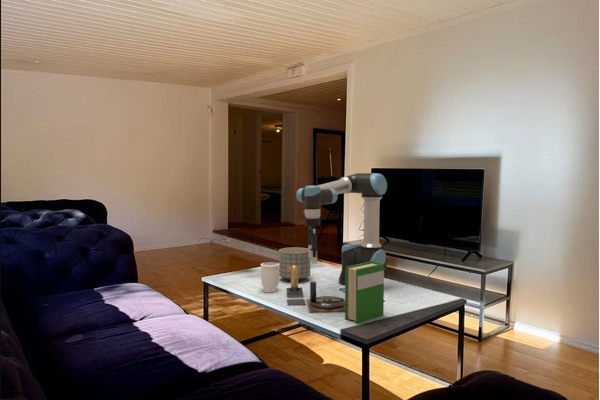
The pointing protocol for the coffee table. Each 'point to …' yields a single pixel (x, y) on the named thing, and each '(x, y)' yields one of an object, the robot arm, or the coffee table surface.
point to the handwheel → (324, 300)
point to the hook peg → (294, 277)
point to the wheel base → (319, 310)
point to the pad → (296, 302)
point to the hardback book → (364, 291)
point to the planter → (294, 262)
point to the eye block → (294, 293)
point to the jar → (270, 276)
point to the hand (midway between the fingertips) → (312, 260)
